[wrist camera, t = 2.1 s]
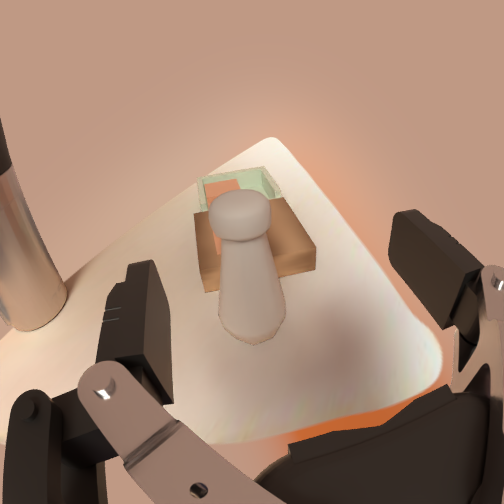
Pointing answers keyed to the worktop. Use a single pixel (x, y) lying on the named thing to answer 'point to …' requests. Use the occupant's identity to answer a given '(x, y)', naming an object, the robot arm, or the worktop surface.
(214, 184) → the peach cube
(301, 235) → the board
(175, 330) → the worktop surface
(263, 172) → the tray
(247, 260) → the salt shaker
